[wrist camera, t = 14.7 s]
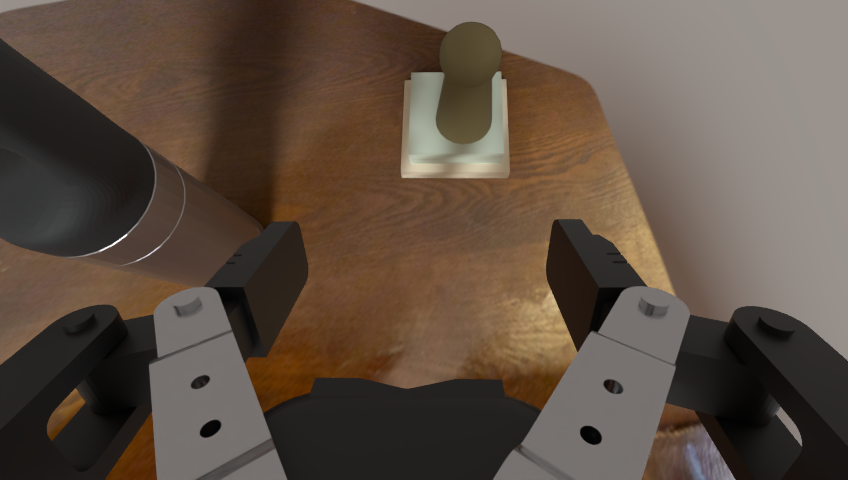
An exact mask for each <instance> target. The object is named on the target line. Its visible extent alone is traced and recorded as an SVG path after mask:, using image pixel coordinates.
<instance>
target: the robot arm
mask: <svg viewBox="0 0 848 480" xmlns="http://www.w3.org/2000/svg"><path fill="white" fill-rule="evenodd" d="M0 238H2V239H4V240H5V241H7V242H9V243H11V244H14V245H16V246H19V247H22V248H25V249H29V250H33V251H37V252H41V253H45V254H50V255H54V256H58V257H63V258H67V259H71V260H76V261H80V262H84V263H89V264H93V265H98V266H103V267H107V268H111V269H116V270H120V271H124V272H129V273H133V274H137V275H142V276H146V277H150V278H155V279H159V280H163V281H168V282H172V283H176V284H181V285H185V286H189V287H193V288H191V289H187V290H184V291H181V292H178V293H176V294H174V295H172V296H170V297H168V298H167V299H165V300H164V301H163V302H161V303H160V304H159V305H158V306H157V308H156V309H155V311H154V315H149V316H144V317H139V318H134V319H129V320H124V321H123V320H122V318H121V316H120V314H119V312H118V310H117V309H116V308H115V307H114V306H111V305H95V306H90V307H86V308H83V309H80V310H77V311H74V312H72V313H70V314H67V315H65V316H63V317H62V318H60V319H58V320H57V321H55V322H54V323H52V324H51V325H50V326H48V327H47V328H46V329H45V330H43V331H42V332H41V333H40V334H38V335H37V336H36V337H35V338H33V339H32V340H31V341H30V342H29V343H27V344H26V345H25V346H24V347H22V348H21V349H20V350H19V351H17V352H16V353H15V354H14V355H12V356H11V357H10V358H9V359H8V360H6V361H5V362H4V363H3V364H1V365H0V480H105V478H106V477H107V475H108V474H109V473H110V471H111V470H112V468H113V467H114V465H115V464H116V462H117V461H118V459H119V458H120V457H121V455H122V454H123V452H124V451H125V449H126V448H127V446H128V445H129V444H130V442H131V441H132V439H133V438H134V436H135V435H136V433H137V432H138V430H139V429H140V428H141V426H142V425H143V423H144V422H145V420H146V419H147V417H148V416H149V415H150V413H151V412H152V414H153V428H154V442H155V455H156V469H157V480H641V479H642V476H643V473H644V470H645V466H646V463H647V460H648V457H649V453H650V450H651V447H652V444H653V440H654V437H655V434H656V431H657V428H658V424H659V421H660V418H661V415H662V411H663V408H664V405H665V403H669V404H672V405H676V406H680V407H684V408H687V409H691V410H695V412H696V414H697V416H698V417H699V419H700V421H701V422H702V424H703V426H704V427H705V429H706V431H707V432H708V434H709V436H710V437H711V439H712V441H713V442H714V444H715V446H716V447H717V449H718V451H719V452H720V454H721V456H722V457H723V459H724V461H725V463H726V464H727V466H728V468H729V469H730V471H731V473H732V474H733V476H734V478H735V479H736V480H848V361H847V360H846V359H845V358H844V357H843V356H842V355H840V354H839V353H838V352H837V351H836V350H835V349H833V348H832V347H831V346H830V345H829V344H828V343H826V342H825V341H824V340H823V339H822V338H821V337H820V336H819V335H817V334H816V333H815V332H814V331H813V330H812V329H810V328H809V327H808V326H807V325H805V324H804V323H802V322H801V321H799V320H797V319H795V318H793V317H791V316H789V315H787V314H784V313H781V312H778V311H775V310H772V309H768V308H763V307H756V306H746V307H741V308H738V309H736V310H735V311H734V313H733V315H732V317H731V319H730V321H729V323H728V322H723V321H718V320H713V319H707V318H702V317H698V316H693V315H690V312H689V310H688V308H687V306H686V305H685V304H684V303H683V302H682V301H681V300H679V299H678V298H677V297H675V296H674V295H672V294H670V293H668V292H665V291H662V290H659V289H656V288H651V287H648V286H647V285H646V284H645V283H644V282H643V280H642V279H641V278H640V277H639V275H638V274H637V273H636V272H635V270H634V269H633V268H632V267H631V265H630V264H629V263H627V260H626V259H625V258H624V257H623V255H621V253H620V252H619V250H618V249H617V248H616V247H615V246H614V244H613V243H612V242H610V241H608V240H607V239H605V238H603V237H602V236H600V235H592V233H591V232H590V231H589V229H588V228H587V226H586V225H585V224H584V222H583V221H582V220H581V219H557V220H554V222H553V225H552V230H551V236H550V243H549V250H548V256H547V263H546V275H547V280H548V283H549V286H550V288H551V290H552V293H553V295H554V298H555V300H556V302H557V305H558V307H559V309H560V312H561V314H562V316H563V319H564V321H565V323H566V326H567V328H568V330H569V333H570V335H571V338H572V340H573V342H574V345H575V347H576V349H577V352H578V353H577V355H576V356H575V358H574V360H573V361H572V363H571V364H570V366H569V368H568V369H567V371H566V373H565V374H564V376H563V377H562V379H561V381H560V382H559V384H558V386H557V387H556V389H555V390H554V392H553V394H552V395H551V397H550V399H549V400H548V402H547V403H546V405H545V407H544V408H543V410H540V409H539V408H537V407H535V406H533V405H531V404H529V403H527V402H525V401H522V400H520V399H517V398H514V397H511V396H507V395H505V394H504V388H503V383H502V380H484V379H454V380H449V381H444V382H440V383H435V384H430V385H425V386H420V387H415V388H410V389H404V388H399V387H395V386H391V385H387V384H382V383H378V382H374V381H370V380H366V379H362V378H315V381H314V384H313V386H312V389H311V392H310V393H308V394H304V395H301V396H297V397H294V398H292V399H289V400H287V401H284V402H282V403H280V404H278V405H276V406H275V407H273V408H271V409H269V410H268V411H266V412H265V413H262V410H261V407H260V405H259V402H258V399H257V396H256V394H255V391H254V388H253V386H252V383H251V380H250V377H249V375H248V372H247V369H246V367H245V363H246V361H247V359H248V357H267V355H268V353H269V351H270V349H271V347H272V345H273V344H274V342H275V340H276V338H277V336H278V334H279V332H280V330H281V329H282V327H283V325H284V323H285V321H286V319H287V317H288V315H289V314H290V312H291V310H292V308H293V306H294V304H295V302H296V300H297V298H298V297H299V295H300V293H301V291H302V289H303V287H304V285H305V283H306V281H307V278H308V262H307V257H306V253H305V248H304V243H303V239H302V234H301V229H300V226H299V224H298V223H297V222H271V223H270V224H269V225H268V226H267V227H266V229H265V230H264V228H263V227H262V225H261V224H260V223H259V222H258V221H257V220H256V219H254V218H253V217H252V216H250V215H249V214H247V213H246V212H244V211H243V210H241V209H240V208H239V207H237V206H236V205H234V204H233V203H231V202H230V201H228V200H227V199H226V198H224V197H223V196H221V195H220V194H218V193H217V192H215V191H214V190H212V189H211V188H209V187H208V186H206V185H205V184H203V183H202V182H200V181H199V180H197V179H196V178H194V177H193V176H191V175H190V174H189V173H187V172H186V171H184V170H183V169H181V168H180V167H178V166H177V165H175V164H174V163H172V162H171V161H169V160H168V159H166V158H165V157H163V156H162V155H160V154H159V153H157V152H156V151H154V150H153V149H151V148H150V147H148V146H147V145H145V144H144V143H142V142H141V141H139V140H138V139H137V138H135V137H134V136H132V135H131V134H129V133H128V132H126V131H125V130H123V129H122V128H121V127H119V126H118V125H116V124H115V123H114V122H112V121H111V120H110V119H109V118H107V117H106V116H105V115H103V114H102V113H101V112H100V111H98V110H97V109H96V108H94V107H93V106H92V105H91V104H89V103H88V102H87V101H85V100H84V99H82V98H81V97H80V96H78V95H77V94H76V93H74V92H73V91H72V90H70V89H69V88H67V87H66V86H64V85H63V84H62V83H60V82H59V81H57V80H56V79H54V78H53V77H52V76H50V75H49V74H47V73H46V72H44V71H43V70H42V69H40V68H39V67H38V66H36V65H35V64H34V63H32V62H31V61H30V60H28V59H27V58H26V57H24V56H23V55H22V54H20V53H19V52H18V51H16V50H15V49H13V48H12V47H11V46H9V45H8V44H7V43H6V42H4V41H3V40H2V39H0ZM75 388H76V389H77V390H78V392H79V393H80V395H81V396H82V397H83V399H84V400H85V402H86V403H85V404H84V405H83V407H82V408H81V409H80V410H79V411H78V412H77V413H76V415H75V416H74V417H73V418H72V419H71V420H70V421H69V422H68V424H67V425H66V426H65V427H64V428H63V429H62V430H61V432H60V433H59V434H58V435H57V436H56V437H55V438H54V439H53V441H51V440H50V439H49V437H48V435H47V423H48V420H49V418H50V416H51V414H52V413H53V411H54V410H55V409H56V408H57V407H58V406H59V405H60V404H61V402H62V401H63V400H64V399H65V398H66V397H67V396H68V395H69V394H70V393H71V392H72V391H73V390H74V389H75ZM780 407H782V409H783V410H784V411H785V412H786V413H787V415H788V416H789V417H790V418H791V419H792V421H793V422H794V423H795V424H796V426H797V428H798V430H799V432H800V435H801V438H802V446H801V445H800V444H799V443H798V441H797V440H796V439H795V438H794V436H793V435H792V434H791V433H790V432H789V430H788V429H787V428H786V426H785V425H784V424H783V423H782V422H781V420H780V419H779V418H778V416H777V415H776V413H777V411H778V410H779V408H780Z"/></svg>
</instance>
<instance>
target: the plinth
mask: <svg viewBox="0 0 848 480" xmlns="http://www.w3.org/2000/svg"><path fill="white" fill-rule="evenodd" d="M443 79H444V73H443V72H421V73H411V80H405V88H404V111H403V134H402V156H401V175H402V178H508V176H509V173H510V163H509V138H508V113H507V88H506V79H501V72H496V73H495V75H494V77H493V78H492V123H491V128H490V129H489V131H488V133H487V134H486V135H485V136H484V137H483V138H482V139H481V140H479V141H476V142H474V143H471V144H457V143H453V142H451V141H449V140H447V139H446V138H444V137H443V136H442V135H441V134H440V132H439V130H438V128H437V126H436V119H435V118H436V114H437V109H438V104H439V99H440V94H441V89H442V84H443Z"/></svg>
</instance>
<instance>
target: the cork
mask: <svg viewBox="0 0 848 480" xmlns="http://www.w3.org/2000/svg"><path fill="white" fill-rule="evenodd" d="M501 57H502V48H501V43H500V40H499V38H498V37H497V35H496V34H495V32H494V31H493V30H492V29H491V28H490V27H488V26H486V25H484V24H482V23H477V22H466V23H462V24H459V25H457V26H455V27H454V28H453V29H452V30H450V31H449V32H448V33H447V35H446V36H445V38H444V39H443V41H442V44H441V48H440V52H439V59H440V66H441V69H442V71H443V73H444V79H443V84H442V89H441V94H440V99H439V104H438V109H437V114H436V118H435V119H436V126H437V128H438V130H439V132H440V134H441V135H442V136H443V137H444V138H446V139H447V140H449V141H451V142H453V143H457V144H471V143H474V142H476V141H479V140H481V139H482V138H483V137H484V136H485V135H486V134H487V133H488V131H489V129H490V128H491V123H492V78H493V77H494V75H495V73H496V72H497V70H498V68H499V67H500V62H501Z"/></svg>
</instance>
